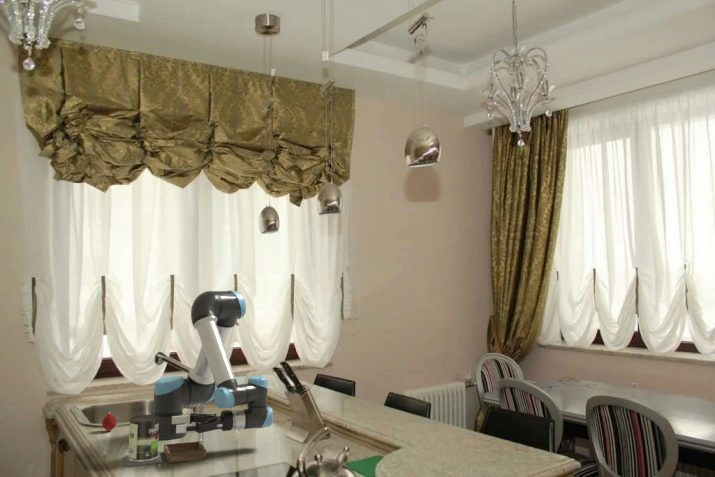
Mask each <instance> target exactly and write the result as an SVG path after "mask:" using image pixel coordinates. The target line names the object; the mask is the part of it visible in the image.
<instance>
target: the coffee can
mask: <svg viewBox="0 0 715 477" xmlns="http://www.w3.org/2000/svg"><path fill="white" fill-rule="evenodd" d="M128 420H129V421H128V422H129V427H128V428H129V434H128V454H127V455H128V460H130V461H133V462H146V461H151V460H155V459H157V458H158V452H159V440H160V439H159V420H160V417H159V416H156V415H153V414H142V415H135V416H132V417H130V418H129V419H128Z"/></svg>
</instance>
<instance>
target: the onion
mask: <svg viewBox="0 0 715 477" xmlns="http://www.w3.org/2000/svg"><path fill="white" fill-rule="evenodd" d="M117 424H118V421H117V418H116V416H115V415H114V414H112V413H111V412H110V411H109V412H107V415H105V417H103V419H102V422H101V425H102V428H103V429H105V431H106V432H111V431H112V430H113V429H115V428H116V426H117Z"/></svg>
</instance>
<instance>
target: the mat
mask: <svg viewBox="0 0 715 477" xmlns="http://www.w3.org/2000/svg"><path fill="white" fill-rule="evenodd" d="M128 455H129V454H124V455H123V457H124V458H123V459H124V463H125V467H126V468H129V467H128V466H131V467H139V466H138V465H140V466H147V465H157V463H159V464H162V463H163V459H162V456H161V454H160V451H158V458H157V459H155V460H151V461H146V462H133V461H130V460H128Z"/></svg>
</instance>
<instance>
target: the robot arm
mask: <svg viewBox="0 0 715 477" xmlns="http://www.w3.org/2000/svg"><path fill="white" fill-rule="evenodd" d="M246 311H247V304H246V300H245V297H244V296H243V295H242V293H241V292H239V291H237V290H236V291H235V290H220V291H218V290H215V291H213V290H208V291H204V292H202V293H200V294H199V295H198V296H197V297H195V299H194V300H193V303H192V305H191V310H190V319H191V323H192V326H193V329H195V330H197V333H198V336H199V339H200V341H201V348H200V350H199V354H198V356H197V359H196V363H195V365H194V368H192V369H190V370H189V371H188V374H187V377H186V378H184V377H183V376H182V375H173V376H164V377H161V378H159V379H157V380H155V383H154V387H153V412H152V413H153V414H152V415H156V416H159V417H160V420H159V440H161V441H163V440H164V441H165V440H173V439H179V438H182V437H185V436H186V435H187V433H194V432H195V433H198V434H202V433H206V432H211V431H216V430H221V431H222V432H227V431H232V430H233V431H238V432H241V431H242V430H250V429H251V430H252V429H253V430H254V429H264V428H270V427H271V426H272V425H273V422H274V410H273V408H272V407H270V406H268V391H269V390H268V389H269V387H268V386H269V385H268V384H269V383H268V378H267V377H265V376H263V375H262V376H260V375H255V376H250V377H248V380H247V383H243V384H238V381H237V379H236V376H235V373H234V371H233V368H232V364H231V361H230V358H229V356H228V353H227V351H226V347H225V342H226V339H227V338H228V334H229V332H230V330H231V329H232V328H234V327H235V326H236V322H237V320H240V319H242V318H243V317H244V316H245V314H246ZM212 401H213V402H214V404H215V406H216V407H217V408H219V409H224V410H221V412H220V415H217V413H193V412H191V413H190V414H188V415H183V414H184V413H183V412H184V409H183V408H185V407H191V406H198V405H203V404H207V403H210V402H212ZM241 405H242V406H243V405H247V408H238V409H237V408H236V409H232V410H231V409H229V408H234V407H238V406H241Z"/></svg>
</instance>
